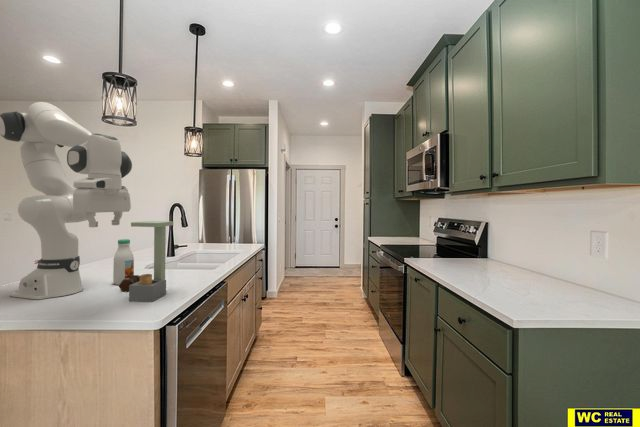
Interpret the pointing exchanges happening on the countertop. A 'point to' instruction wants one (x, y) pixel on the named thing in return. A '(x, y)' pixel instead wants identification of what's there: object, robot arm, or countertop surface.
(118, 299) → the countertop surface
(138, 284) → the socket
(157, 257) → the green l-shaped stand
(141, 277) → the peg
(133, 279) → the bolt
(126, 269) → the milk bottle
